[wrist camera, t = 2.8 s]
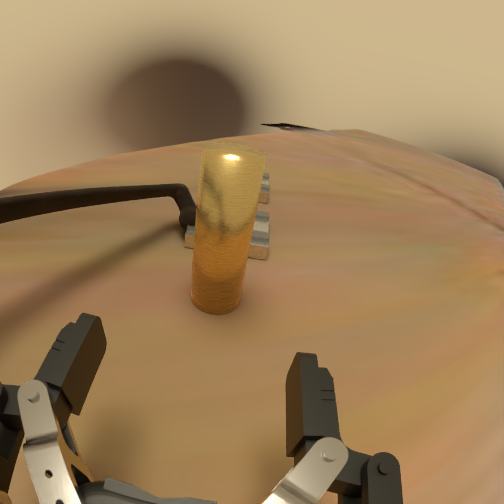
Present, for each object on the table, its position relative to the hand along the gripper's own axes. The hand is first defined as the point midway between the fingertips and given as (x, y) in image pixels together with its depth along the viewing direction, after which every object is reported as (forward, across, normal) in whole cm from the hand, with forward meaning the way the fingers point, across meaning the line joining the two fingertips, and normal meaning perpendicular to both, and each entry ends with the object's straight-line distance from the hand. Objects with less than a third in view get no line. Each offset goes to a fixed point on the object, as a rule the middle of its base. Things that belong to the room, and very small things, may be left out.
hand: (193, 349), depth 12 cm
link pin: (+11, 0, +7) cm, 13 cm away
